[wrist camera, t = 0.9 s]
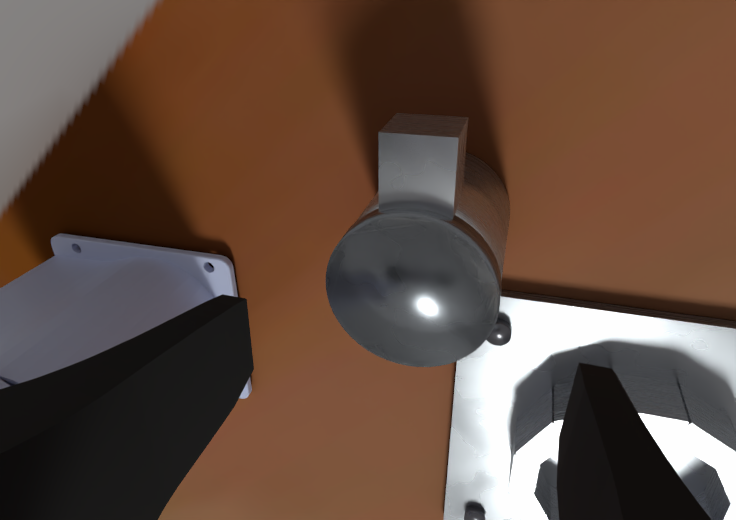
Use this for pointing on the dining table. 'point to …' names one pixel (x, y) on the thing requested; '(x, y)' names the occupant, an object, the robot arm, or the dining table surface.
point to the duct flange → (552, 391)
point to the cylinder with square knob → (423, 248)
